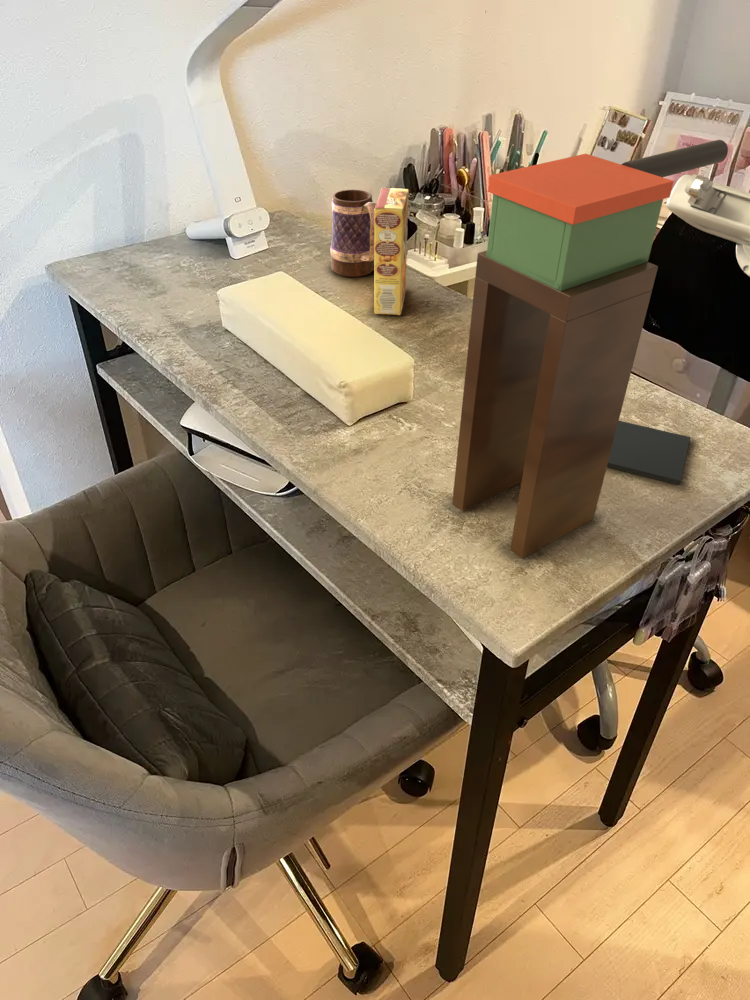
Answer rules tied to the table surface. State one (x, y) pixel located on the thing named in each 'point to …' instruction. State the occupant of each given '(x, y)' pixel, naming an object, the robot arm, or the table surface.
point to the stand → (546, 393)
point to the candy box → (390, 250)
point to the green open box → (569, 242)
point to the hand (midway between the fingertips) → (738, 196)
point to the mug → (352, 233)
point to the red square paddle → (600, 182)
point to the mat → (649, 452)
